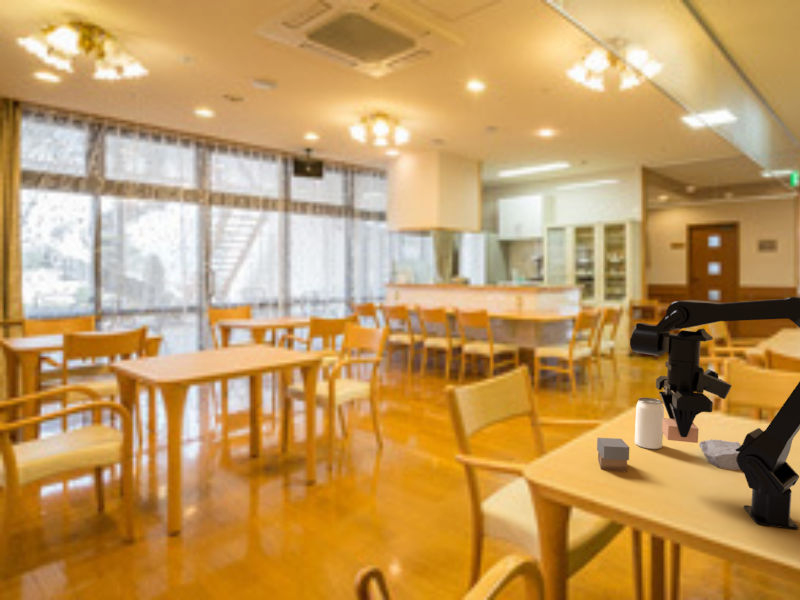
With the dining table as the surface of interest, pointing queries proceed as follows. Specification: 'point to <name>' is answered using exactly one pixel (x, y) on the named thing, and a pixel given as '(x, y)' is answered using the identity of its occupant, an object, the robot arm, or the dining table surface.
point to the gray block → (613, 448)
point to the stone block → (721, 453)
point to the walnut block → (612, 464)
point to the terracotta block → (673, 434)
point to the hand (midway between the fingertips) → (679, 432)
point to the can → (649, 423)
